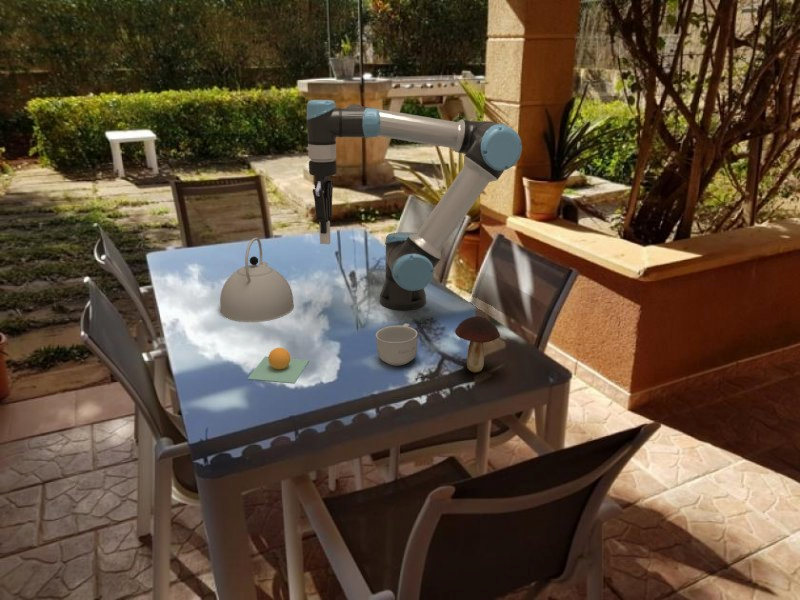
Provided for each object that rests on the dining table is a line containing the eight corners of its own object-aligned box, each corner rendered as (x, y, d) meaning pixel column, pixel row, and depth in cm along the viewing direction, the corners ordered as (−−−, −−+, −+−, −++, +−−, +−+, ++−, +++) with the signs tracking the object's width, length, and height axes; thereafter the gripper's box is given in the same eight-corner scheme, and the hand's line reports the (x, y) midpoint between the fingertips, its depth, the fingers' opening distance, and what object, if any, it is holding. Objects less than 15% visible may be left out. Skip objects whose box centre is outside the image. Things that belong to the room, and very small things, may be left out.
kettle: (234, 292, 201) (228, 227, 192) (300, 293, 200) (297, 228, 192) (210, 321, 177) (202, 249, 169) (286, 323, 177) (281, 251, 169)
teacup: (403, 374, 149) (403, 345, 146) (367, 362, 154) (367, 335, 151) (430, 353, 160) (431, 326, 157) (396, 343, 165) (396, 317, 162)
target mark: (309, 360, 154) (309, 360, 154) (294, 383, 143) (294, 382, 143) (265, 357, 156) (265, 356, 156) (247, 379, 145) (247, 378, 145)
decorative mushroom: (474, 357, 158) (478, 305, 152) (505, 373, 150) (510, 319, 144) (444, 369, 151) (446, 315, 146) (474, 386, 143) (478, 330, 138)
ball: (291, 371, 151) (294, 350, 152) (285, 368, 146) (288, 346, 147) (270, 370, 152) (273, 348, 153) (264, 367, 147) (266, 345, 148)
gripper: (315, 156, 168) (318, 236, 176) (301, 162, 156) (305, 249, 164) (341, 157, 166) (343, 238, 175) (329, 163, 155) (332, 250, 163)
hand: (325, 243), depth 170 cm, fingers closed
